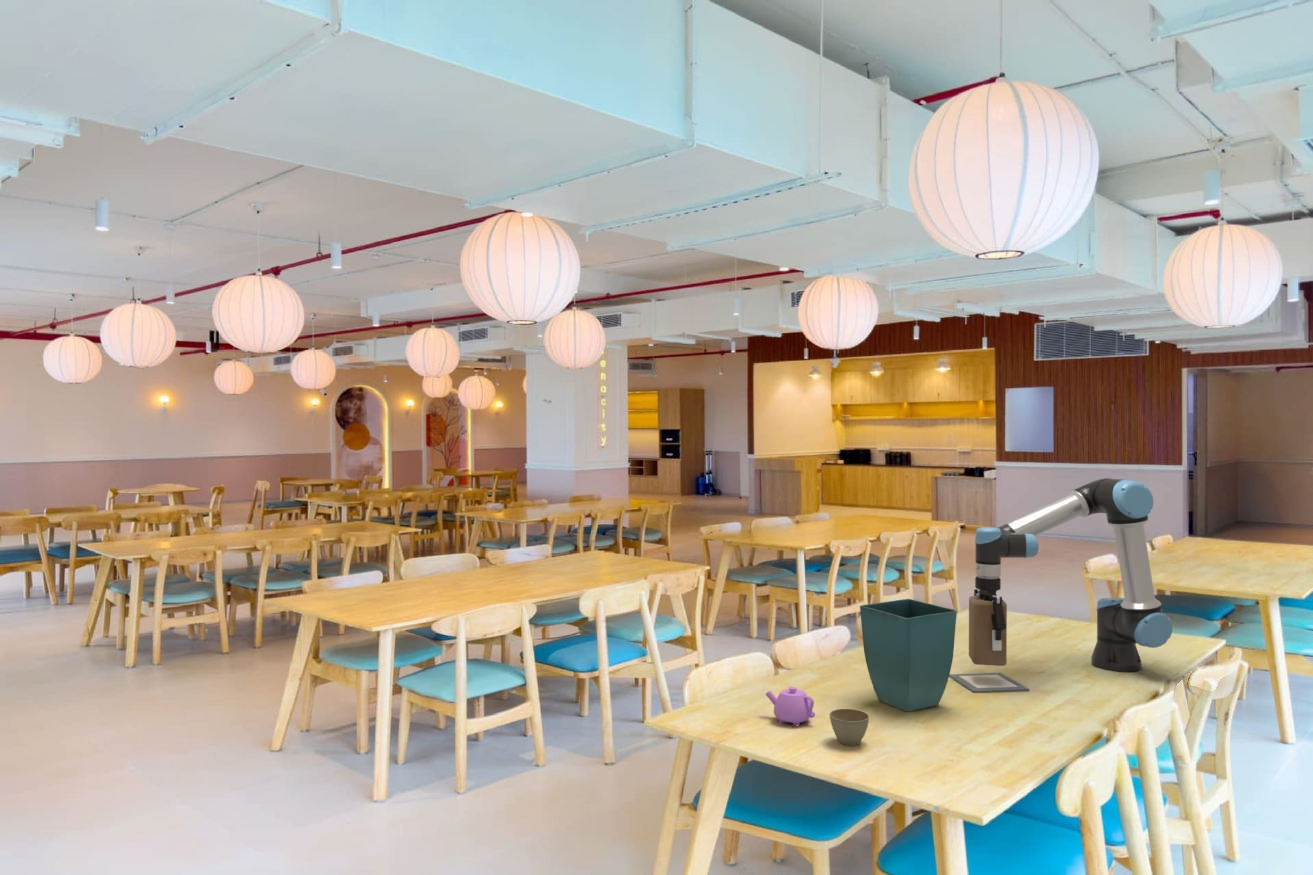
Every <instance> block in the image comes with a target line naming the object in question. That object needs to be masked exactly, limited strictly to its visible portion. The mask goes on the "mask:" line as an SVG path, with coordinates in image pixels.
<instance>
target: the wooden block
mask: <svg viewBox="0 0 1313 875" xmlns="http://www.w3.org/2000/svg"><path fill="white" fill-rule="evenodd" d="M1002 606H1003V612H1004V618H1005V624H1006V629H1003V630H1002V651H993V650H992V628H993V624H992V620H991V615H992V614H994V608H993V602H992V601H988V600H983V598H979V596H974V595H971V596H969V598H968V657H969V658H970V660H971V662H972V663H973V664H975V665H978V666H979V665H980V666H994V667H995V666H996V667H997V666H1001V667H1004V666H1006V665H1007V653H1008V652H1007V642H1008V640H1007V630H1008V629H1007V627H1008V624H1007V623H1008V622H1007V621H1008V620H1007V618H1008V615H1007V614H1008V608H1007V607H1008V605H1007V603H1006V602H1005V601H1004V600H1003V599H1002ZM994 615H995V614H994Z"/></svg>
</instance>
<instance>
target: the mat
mask: <svg viewBox="0 0 1313 875" xmlns="http://www.w3.org/2000/svg"><path fill="white" fill-rule="evenodd" d="M949 678H950V679H951V680H953V681H955V682H956V683H958V684H960V685H961V686H962V687H964V688H965V689H967V690H968V691H970V692H971V693H973V694H976V693H977V694H979V693H1006V692H1007V693H1009V692H1010V693H1012V692H1030V691H1031V689H1030V688H1028V687H1027V686H1025V685H1023V684H1021V683H1019V682H1018V681H1016V680H1014V679H1013V678H1011V677H1009V676H1008V675H1005V674H1004V673H1002V672H992V673H991V672H985V673H984V672H982V673H953V674H951V673H950V674H949Z"/></svg>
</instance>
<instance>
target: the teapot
mask: <svg viewBox="0 0 1313 875" xmlns="http://www.w3.org/2000/svg"><path fill="white" fill-rule="evenodd" d="M765 696H766V697H767V698H768V699H769V701H770V702H771V703H772V704H773V714H774V716H775V717H776V719H777V720H778V721H779V722H781V723H780V724H783V723H784V722H785V723H792V725H793V726H794V725H800V726H801V724H800V723H805V722H804V721H806V722H808V720H809V719H810V718H811V719H813V718H815V716H816V713H815V712H814V711H813V708H814V704H815V702H814V701H815V700H814V699H813V698H812V697H811V696H810V695H808V694H807V692H806V691H804V690H803V689H798V688H797V687H795V686H790V687H788V688H786V689H784V690H781V691H780V693H779V694H778V696H777V697H776V695H774V694H773V692H772V691H771V690H768V691H767V692H766V693H765ZM779 722H778V723H779ZM785 723H784V724H785Z"/></svg>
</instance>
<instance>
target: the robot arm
mask: <svg viewBox="0 0 1313 875" xmlns="http://www.w3.org/2000/svg"><path fill="white" fill-rule="evenodd" d="M1153 507H1154V497H1153V494H1152V492H1151V490H1150V489H1149V488H1148V487H1147V486H1146V485H1145V484H1144V483H1142V482H1139V481H1135V480H1133V479H1121V478H1120V479H1119V478H1110V477H1109V478H1100V479H1097V480H1093V481H1091V482H1088V483H1085V484H1083V485H1081V486H1080V487H1079V486H1078V487H1077V488H1075V489H1073V490H1070V491H1069V492H1068V494H1067V496H1065V497H1063V498H1060V499H1058V500H1057V501H1054V502H1051V503H1049V504H1047V505H1045V506H1042V507H1041V508H1038V509H1035V511H1032V512H1030V513H1028V514H1025V515H1024V516H1023V515H1022V516H1020V517H1018V518H1016V519H1015V520H1012V521H1009V522H1007V523H1005V524H1003V525H1000V526H998V527H991V526H990V527H987V526H986V527H985V526H984V527H983V526H982V527H978V528H977V529H976V531H975V539H974V543H975V566H974V570H975V575H976V576H975V579H974V580H975V581H974V584H975V585H974V586H975V589H973V596H979V598H983V600H988V601H992V602H993V608H994V614H995V615H994V614H992V615H991V620H992V624H993V628H992V650H993V651H1002V630H1003V629H1006V624H1005V618H1004V612H1003V606H1002V600H1003V596H998V595H997V592H998V591H1000V590H1001V588H1002V586H1001V584H1002V582H1001V580H1002V579H1001V575H1002V570H1001V569H1002V559H1005V558H1011V559H1013V558H1015V559H1016V558H1018V559H1019V558H1021V559H1023V558H1024V559H1026V558H1034V557H1036V556H1037V554H1038V552H1039V550H1040V549H1039V547H1040V546H1039V544H1040V543H1039V540H1038V538H1037V536H1039V535H1040V534H1043V533H1045V532H1047V531H1050V530H1052V529H1054V528H1056V527H1059V526H1061V525H1063V524H1065V523H1068V522H1069V521H1072V520H1075V519H1077V518H1078V517H1079V518H1080V517H1082V518H1087V517H1089V516H1090V515H1091V516H1092V515H1094V514H1105V515H1106V520H1107V524H1108V525H1110V526H1111V527H1112V528H1113V530H1114V531H1113V532H1114V539H1115V543H1116V550H1117V556H1118V562H1119V563H1118V564H1119V569H1120V570H1119V571H1120V577H1121V583H1122V589H1123V595H1124V597H1103V598H1100V599H1098V601H1097V603H1096V604H1097V606H1096V643H1095V645H1094V649H1093V652H1092V654H1091V656H1090V657H1091V658H1090V659H1091V662H1090V664H1091V665H1093V666H1094V667H1095V668H1096V667H1097V668H1100V669H1103V670H1108V671H1113V672H1123V673H1124V672H1126V673H1127V672H1129V673H1130V672H1138V671H1141V670H1142V669H1143V667H1142V664H1143V663H1142V660H1141V656H1140V654H1139V651H1138V648H1137V644H1138V645H1139V646H1142V647H1146V648H1151V649H1154V648H1155V649H1156V648H1159V647H1161V646H1164V645H1165V644H1166V643H1168V640H1169V639H1171V636H1172V633H1173V626H1174V625H1173V622H1172V620H1171V618H1170V617H1169V616H1168V615H1166V614H1165V613H1163V607H1162V602H1161V601H1160V600H1158V599H1157V598H1156V597H1155V590H1154V583H1153V578H1152V570H1151V565H1150V558H1149V551H1148V545H1147V538H1146V532H1145V524H1146V523H1147V522H1148V521H1149V516H1148V515H1149V514H1151V509H1153Z"/></svg>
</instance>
